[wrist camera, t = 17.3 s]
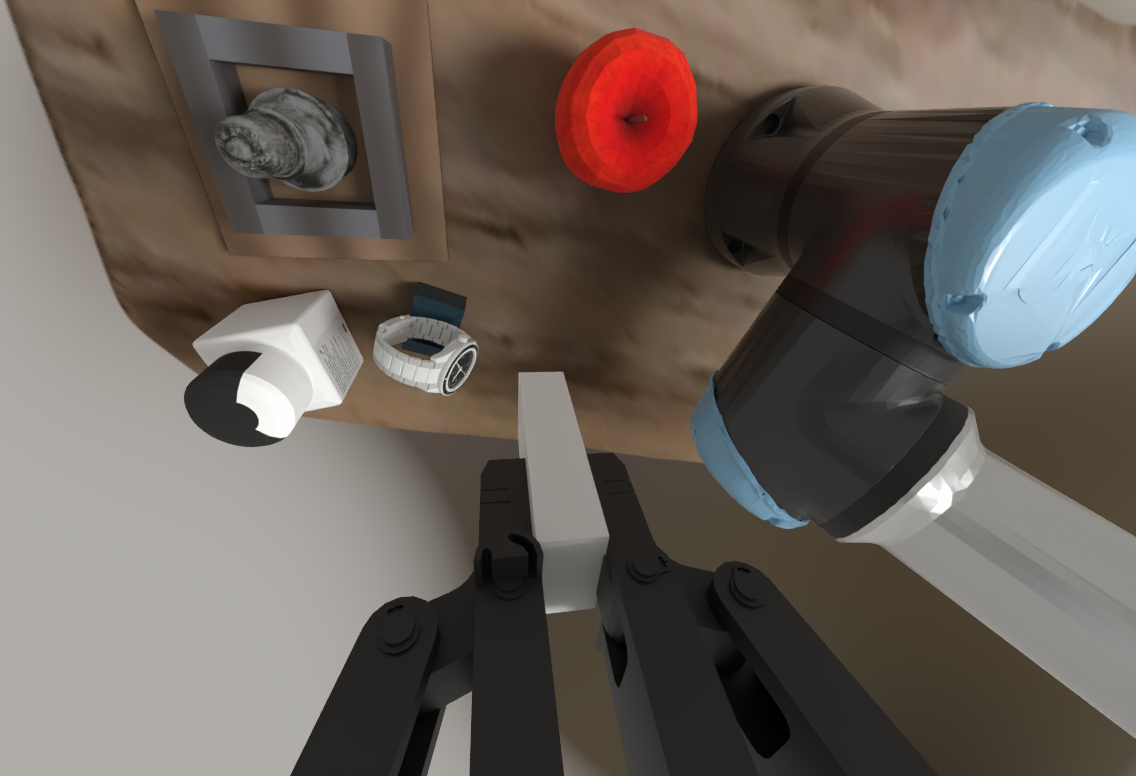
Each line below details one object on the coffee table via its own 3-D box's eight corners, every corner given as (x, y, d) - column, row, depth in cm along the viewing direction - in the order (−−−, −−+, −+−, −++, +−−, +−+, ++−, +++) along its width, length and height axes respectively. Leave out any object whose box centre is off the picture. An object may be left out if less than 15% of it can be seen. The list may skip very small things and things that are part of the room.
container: (287, 376, 40) (213, 469, 29) (241, 303, 36) (134, 382, 25) (365, 361, 40) (320, 447, 30) (329, 287, 36) (261, 358, 25)
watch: (470, 351, 42) (465, 415, 33) (388, 328, 39) (357, 391, 30) (486, 303, 39) (485, 358, 30) (400, 274, 36) (369, 325, 27)
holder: (427, 3, 27) (419, -14, 24) (449, 258, 36) (444, 272, 33) (131, -38, 24) (74, -63, 21) (236, 251, 33) (208, 266, 30)
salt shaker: (318, 71, 27) (220, 44, 17) (379, 160, 31) (326, 179, 21) (251, 118, 28) (120, 117, 18) (317, 199, 31) (237, 236, 21)
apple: (563, 194, 35) (587, 220, 26) (527, 72, 30) (543, 52, 21) (660, 158, 34) (719, 172, 26) (641, 28, 30) (706, -11, 21)
